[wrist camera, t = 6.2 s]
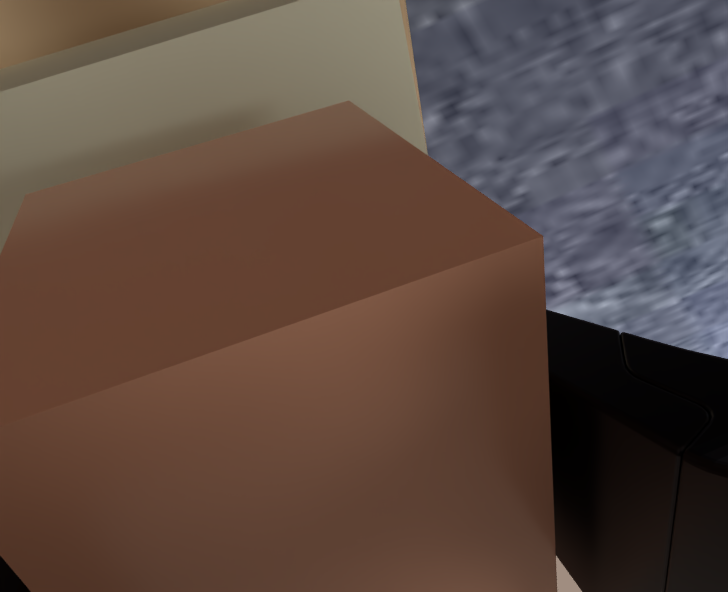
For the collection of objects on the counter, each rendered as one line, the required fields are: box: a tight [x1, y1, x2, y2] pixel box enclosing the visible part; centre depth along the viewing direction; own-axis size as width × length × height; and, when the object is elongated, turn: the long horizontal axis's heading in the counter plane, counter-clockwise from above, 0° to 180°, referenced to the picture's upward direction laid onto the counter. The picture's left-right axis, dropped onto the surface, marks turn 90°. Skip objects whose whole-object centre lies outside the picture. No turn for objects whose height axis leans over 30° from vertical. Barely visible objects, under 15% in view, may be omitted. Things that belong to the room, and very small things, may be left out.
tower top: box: [0, 0, 428, 254], centre depth 13 cm, size 8×8×3 cm
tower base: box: [0, 0, 427, 148], centre depth 15 cm, size 10×10×3 cm
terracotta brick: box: [0, 100, 557, 592], centre depth 8 cm, size 4×6×5 cm
